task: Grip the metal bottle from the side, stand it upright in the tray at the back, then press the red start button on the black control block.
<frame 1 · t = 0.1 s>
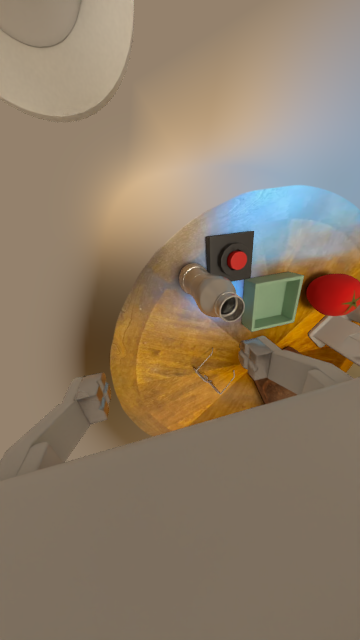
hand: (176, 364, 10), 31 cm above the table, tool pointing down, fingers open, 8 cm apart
bread: (277, 380, 65), on the table
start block: (227, 258, 40), on the table
sunglasses: (213, 367, 54), on the table
tomato: (314, 288, 50), on the table
phone holder: (333, 321, 58), on the table
tray: (264, 298, 48), on the table
metal bottle: (190, 276, 41), on the table
start button: (236, 260, 37), point 4 cm above the table, slide at 0.1 cm
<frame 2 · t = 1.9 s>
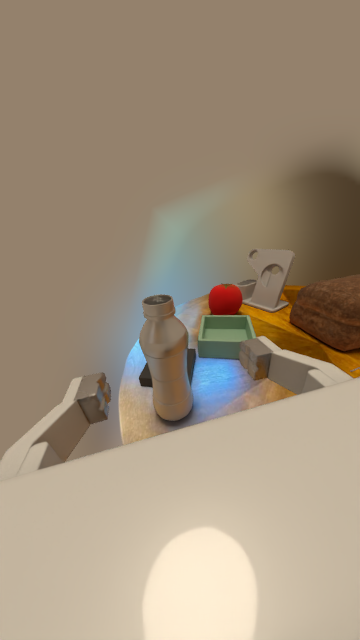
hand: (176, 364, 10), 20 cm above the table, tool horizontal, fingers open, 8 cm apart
bread: (355, 325, 47), on the table
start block: (170, 369, 39), on the table
tomato: (223, 315, 59), on the table
phone holder: (258, 302, 66), on the table
tray: (225, 342, 46), on the table
metal bottle: (175, 409, 30), on the table
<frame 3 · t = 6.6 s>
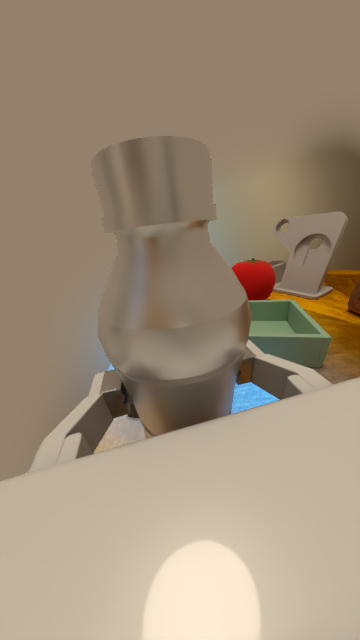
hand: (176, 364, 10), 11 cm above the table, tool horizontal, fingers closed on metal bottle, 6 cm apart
tomato: (247, 304, 44), on the table
phone holder: (289, 288, 51), on the table
tray: (260, 340, 30), on the table
metal bottle: (194, 473, 15), on the table, touching gripper
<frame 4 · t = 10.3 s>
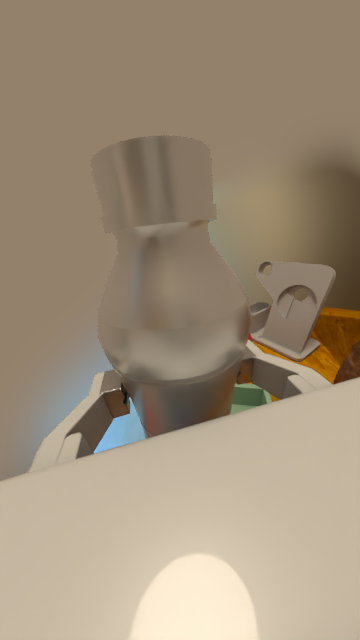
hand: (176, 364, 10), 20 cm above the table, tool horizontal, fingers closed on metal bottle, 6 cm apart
phone holder: (273, 337, 45), on the table
tray: (225, 441, 25), on the table
metal bottle: (193, 474, 15), point 9 cm above the table, touching gripper
when the fingers open (12 cm above the table, at t = 14.2 s): metal bottle stays where it is, resting on tray.
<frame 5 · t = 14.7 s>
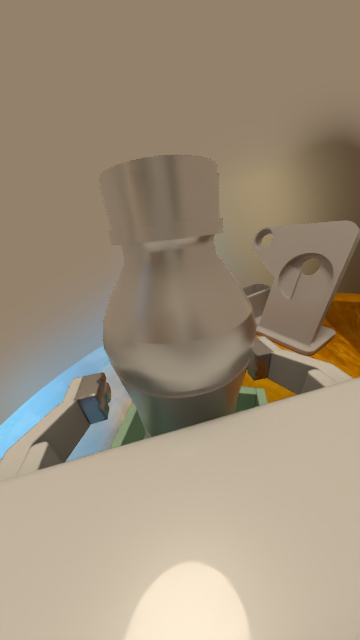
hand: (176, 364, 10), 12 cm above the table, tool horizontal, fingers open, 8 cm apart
phone holder: (274, 326, 36), on the table
tray: (195, 479, 15), on the table
metal bottle: (195, 478, 15), point 1 cm above the table, touching tray
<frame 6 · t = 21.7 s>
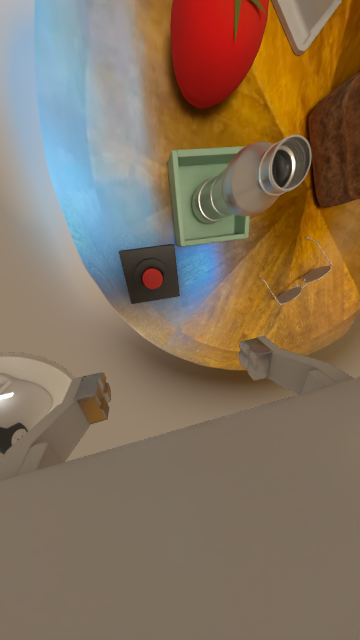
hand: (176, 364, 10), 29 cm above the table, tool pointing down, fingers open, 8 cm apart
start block: (151, 273, 36), on the table
sunglasses: (287, 270, 42), on the table
tomato: (200, 74, 26), on the table
tray: (205, 204, 33), on the table
metal bottle: (207, 204, 32), point 1 cm above the table, touching tray
start button: (152, 278, 32), point 4 cm above the table, slide at 0.1 cm
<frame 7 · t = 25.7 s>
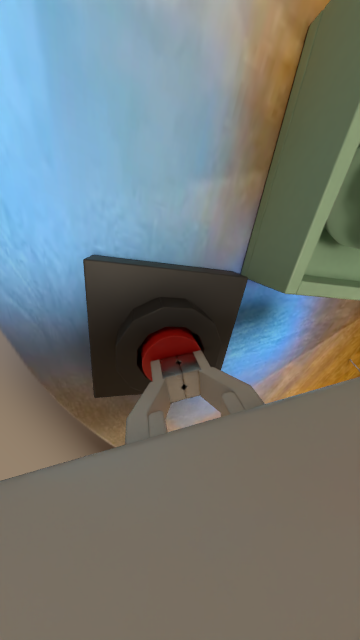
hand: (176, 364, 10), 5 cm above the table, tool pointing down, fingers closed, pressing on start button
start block: (162, 327, 14), on the table
tray: (337, 199, 13), on the table
metal bottle: (346, 199, 13), point 1 cm above the table, touching tray
start button: (170, 353, 11), point 4 cm above the table, slide at -0.7 cm, touching gripper
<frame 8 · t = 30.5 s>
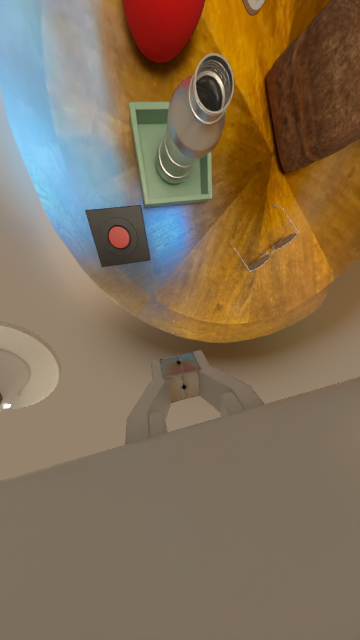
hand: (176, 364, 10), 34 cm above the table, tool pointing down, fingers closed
bread: (335, 90, 34), on the table
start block: (121, 237, 37), on the table
sunglasses: (257, 239, 43), on the table
tomato: (157, 29, 26), on the table
tray: (170, 166, 33), on the table
metal bottle: (172, 165, 33), point 1 cm above the table, touching tray
start button: (119, 237, 33), point 4 cm above the table, slide at 0.1 cm
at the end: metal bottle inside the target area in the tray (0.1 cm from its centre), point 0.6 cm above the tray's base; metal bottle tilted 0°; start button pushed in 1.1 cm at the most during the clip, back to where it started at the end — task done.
